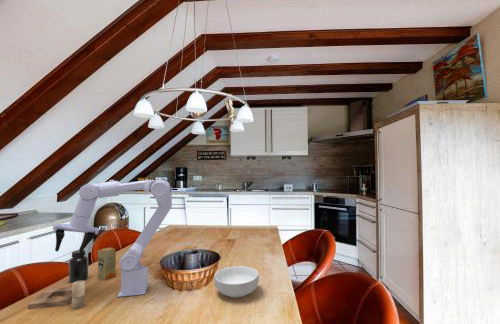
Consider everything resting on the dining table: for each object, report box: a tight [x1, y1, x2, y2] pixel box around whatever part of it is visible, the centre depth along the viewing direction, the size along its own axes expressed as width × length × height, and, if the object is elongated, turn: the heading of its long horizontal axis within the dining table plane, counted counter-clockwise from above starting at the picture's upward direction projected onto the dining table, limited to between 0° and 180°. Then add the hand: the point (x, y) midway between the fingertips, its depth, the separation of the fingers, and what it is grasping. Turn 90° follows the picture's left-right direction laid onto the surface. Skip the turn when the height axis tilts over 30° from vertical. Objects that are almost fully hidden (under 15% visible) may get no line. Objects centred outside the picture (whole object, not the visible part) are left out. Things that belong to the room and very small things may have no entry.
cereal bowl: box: [213, 265, 260, 299], centre depth 97 cm, size 17×17×7 cm
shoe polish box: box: [97, 246, 117, 282], centre depth 113 cm, size 5×5×12 cm
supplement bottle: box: [68, 249, 89, 284], centre depth 111 cm, size 7×7×12 cm
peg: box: [71, 280, 86, 310], centre depth 88 cm, size 4×4×8 cm
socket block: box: [27, 286, 72, 310], centre depth 94 cm, size 12×12×2 cm
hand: (68, 251), depth 95 cm, fingers open, 7 cm apart
